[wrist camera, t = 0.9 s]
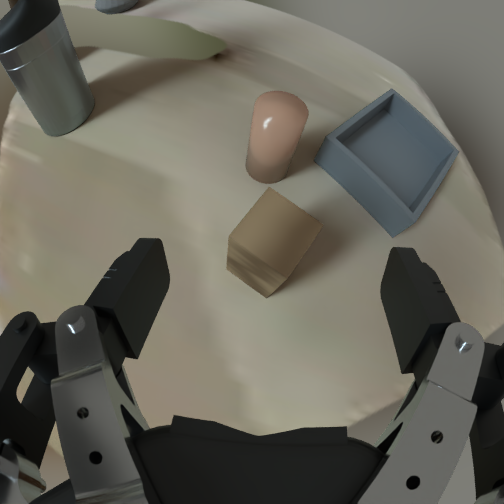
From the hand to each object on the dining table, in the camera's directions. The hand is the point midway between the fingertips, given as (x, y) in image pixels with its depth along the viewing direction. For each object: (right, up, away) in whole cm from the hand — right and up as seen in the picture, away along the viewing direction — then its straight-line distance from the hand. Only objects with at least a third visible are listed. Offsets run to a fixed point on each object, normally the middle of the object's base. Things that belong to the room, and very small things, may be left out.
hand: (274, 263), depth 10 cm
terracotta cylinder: (+1, +11, +24) cm, 26 cm away
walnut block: (0, -1, +21) cm, 21 cm away
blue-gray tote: (+18, +13, +26) cm, 34 cm away
